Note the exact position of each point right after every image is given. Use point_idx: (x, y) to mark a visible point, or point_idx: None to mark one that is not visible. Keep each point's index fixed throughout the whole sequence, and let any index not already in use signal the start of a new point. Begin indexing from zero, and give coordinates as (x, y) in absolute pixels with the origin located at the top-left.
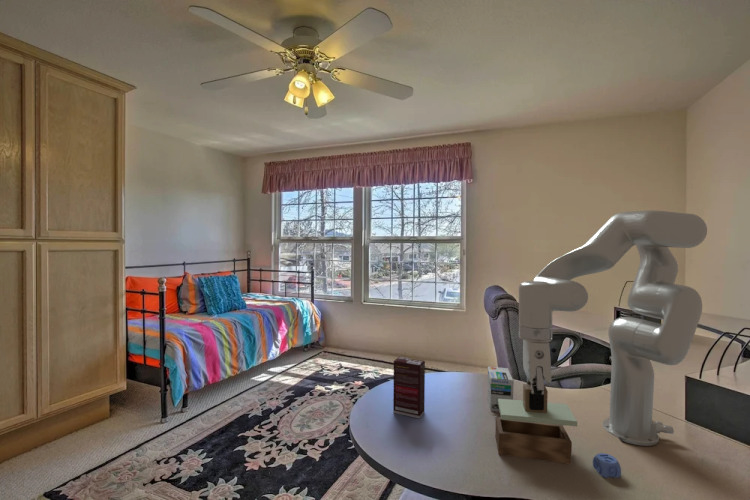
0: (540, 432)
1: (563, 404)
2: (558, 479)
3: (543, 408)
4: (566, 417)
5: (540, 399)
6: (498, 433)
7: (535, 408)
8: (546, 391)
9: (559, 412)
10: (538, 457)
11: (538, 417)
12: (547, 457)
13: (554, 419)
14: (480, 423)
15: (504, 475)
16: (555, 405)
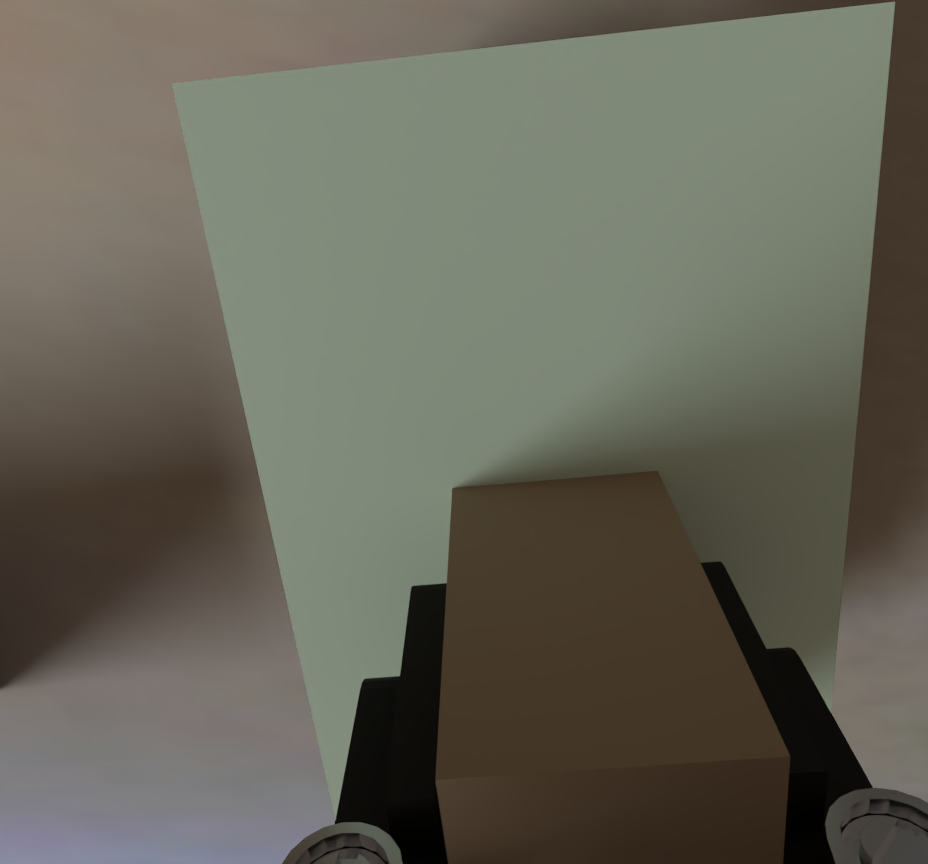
0: None
1: (218, 154)
2: (896, 239)
3: (722, 576)
4: (767, 185)
5: (853, 759)
6: None
7: None
8: (779, 758)
9: (591, 279)
10: None
11: (832, 601)
12: None
13: (858, 391)
14: (228, 754)
15: (911, 612)
16: (324, 309)
